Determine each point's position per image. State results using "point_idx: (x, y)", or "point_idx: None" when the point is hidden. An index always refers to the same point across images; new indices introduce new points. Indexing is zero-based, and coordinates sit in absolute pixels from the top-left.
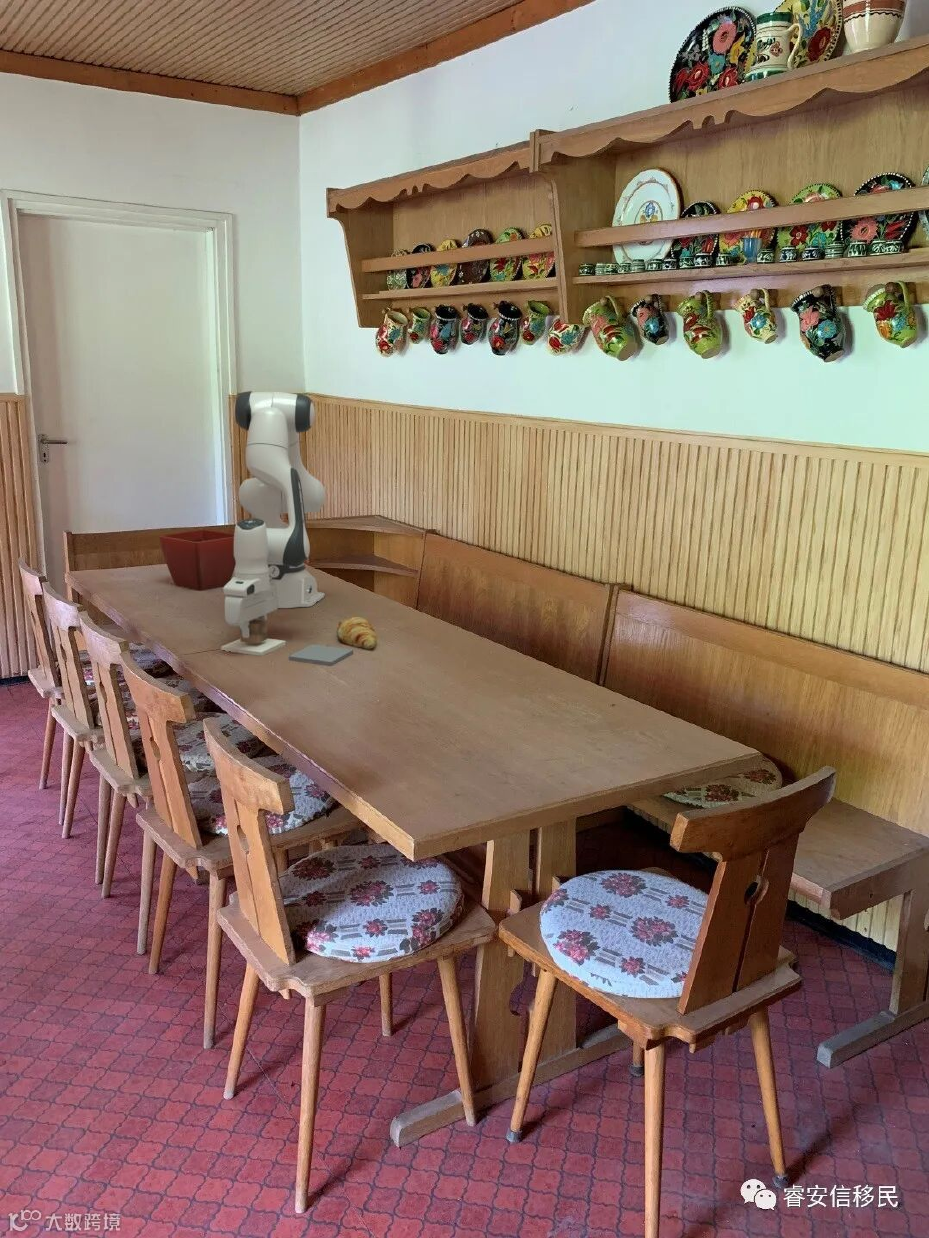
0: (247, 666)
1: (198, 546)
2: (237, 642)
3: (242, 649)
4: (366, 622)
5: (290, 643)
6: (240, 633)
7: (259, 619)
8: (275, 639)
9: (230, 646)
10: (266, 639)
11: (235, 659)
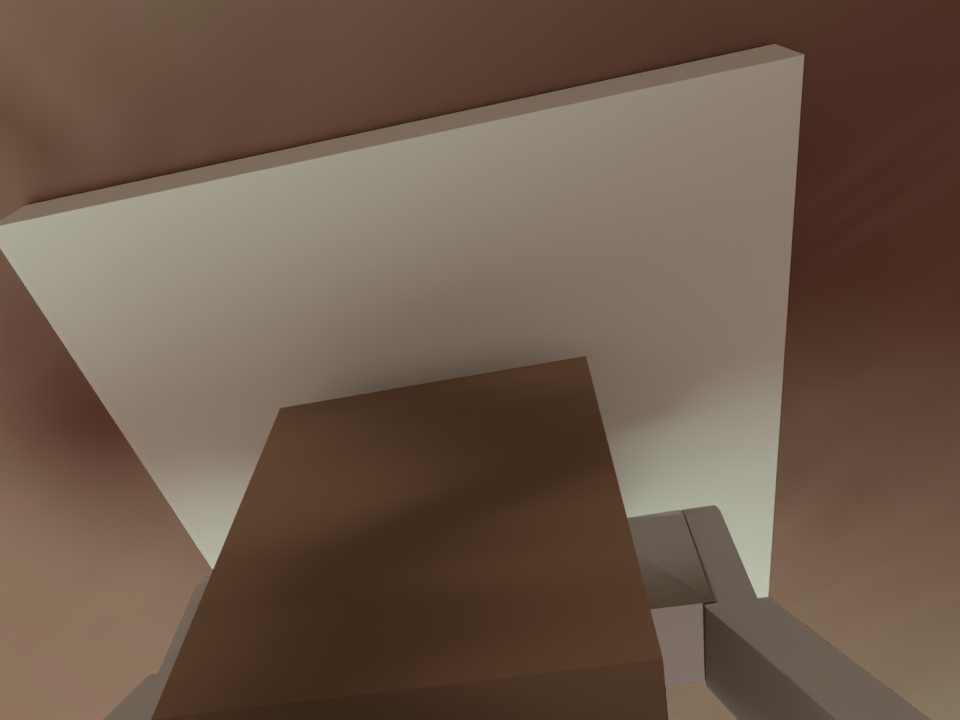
0: (17, 703)
1: None
2: (345, 256)
3: (182, 513)
4: None
5: (812, 577)
6: (243, 509)
7: (795, 706)
8: (772, 516)
9: (124, 327)
10: (722, 446)
11: (15, 552)
